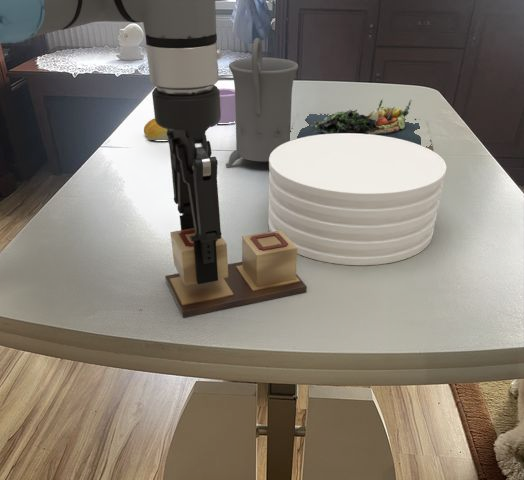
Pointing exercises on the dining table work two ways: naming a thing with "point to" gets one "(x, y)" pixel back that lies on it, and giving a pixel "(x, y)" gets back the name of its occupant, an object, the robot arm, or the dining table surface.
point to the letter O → (269, 258)
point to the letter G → (186, 256)
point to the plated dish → (365, 124)
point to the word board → (227, 291)
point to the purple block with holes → (227, 105)
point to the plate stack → (355, 197)
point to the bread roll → (155, 131)
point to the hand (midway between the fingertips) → (200, 269)
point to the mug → (261, 104)
